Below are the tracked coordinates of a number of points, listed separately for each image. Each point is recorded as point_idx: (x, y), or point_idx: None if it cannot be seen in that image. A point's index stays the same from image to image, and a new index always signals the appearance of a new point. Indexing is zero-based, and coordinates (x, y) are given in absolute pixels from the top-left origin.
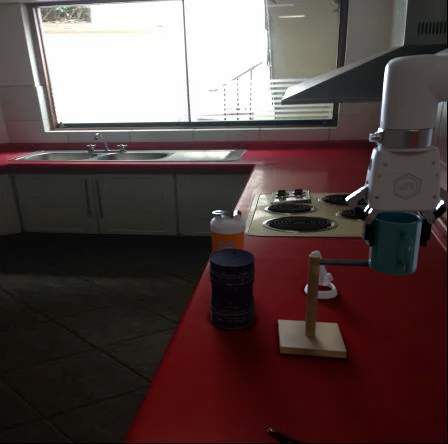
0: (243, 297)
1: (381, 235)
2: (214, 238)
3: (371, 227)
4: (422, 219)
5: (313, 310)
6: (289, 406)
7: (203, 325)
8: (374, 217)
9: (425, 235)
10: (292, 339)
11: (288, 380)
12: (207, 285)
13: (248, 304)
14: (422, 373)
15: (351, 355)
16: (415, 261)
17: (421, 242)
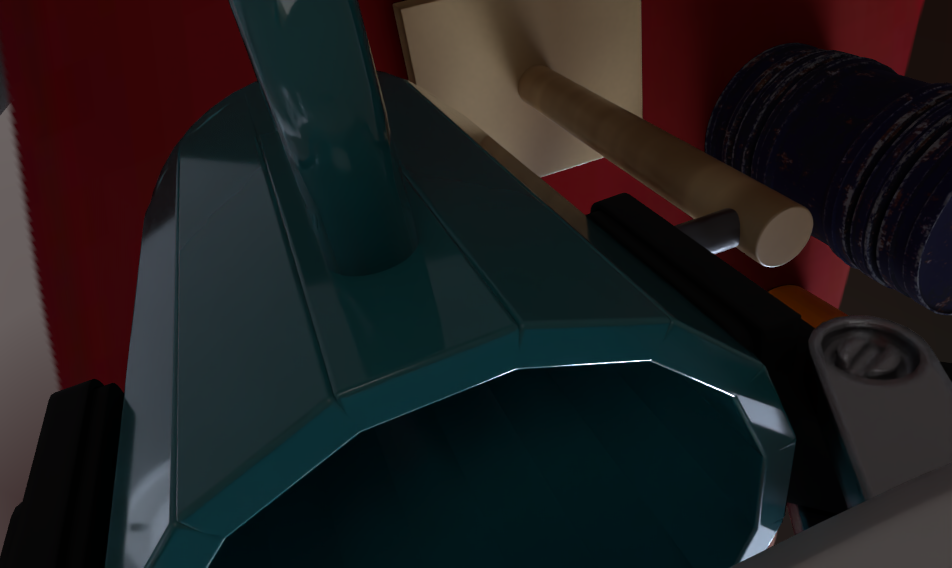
0: (836, 109)
1: (606, 241)
2: None
3: (763, 300)
4: None
5: (589, 102)
6: None
7: (859, 33)
8: (848, 415)
9: (55, 488)
10: (598, 20)
11: None
12: (829, 285)
13: (788, 116)
14: (85, 7)
15: (373, 35)
16: (154, 218)
17: (110, 413)
